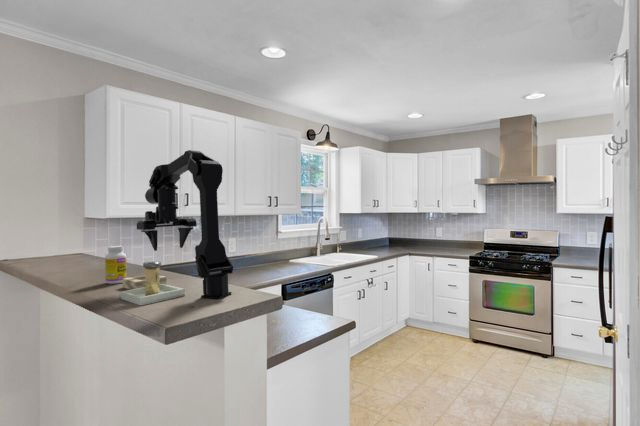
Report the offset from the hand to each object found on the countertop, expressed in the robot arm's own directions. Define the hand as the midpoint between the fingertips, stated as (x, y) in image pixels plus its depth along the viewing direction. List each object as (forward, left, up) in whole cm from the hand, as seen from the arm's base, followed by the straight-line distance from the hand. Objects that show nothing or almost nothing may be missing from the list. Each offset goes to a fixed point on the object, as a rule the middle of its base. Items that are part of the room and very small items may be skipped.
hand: (168, 249), depth 128 cm
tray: (-8, +16, -12) cm, 22 cm away
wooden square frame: (+6, +5, -12) cm, 14 cm away
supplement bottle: (+22, +2, -12) cm, 25 cm away
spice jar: (-8, +16, -11) cm, 21 cm away
